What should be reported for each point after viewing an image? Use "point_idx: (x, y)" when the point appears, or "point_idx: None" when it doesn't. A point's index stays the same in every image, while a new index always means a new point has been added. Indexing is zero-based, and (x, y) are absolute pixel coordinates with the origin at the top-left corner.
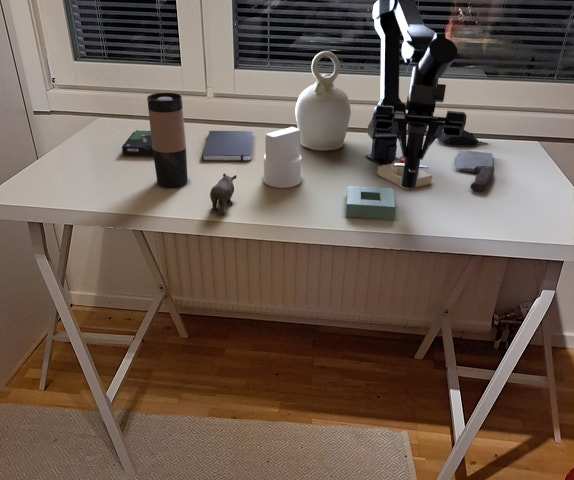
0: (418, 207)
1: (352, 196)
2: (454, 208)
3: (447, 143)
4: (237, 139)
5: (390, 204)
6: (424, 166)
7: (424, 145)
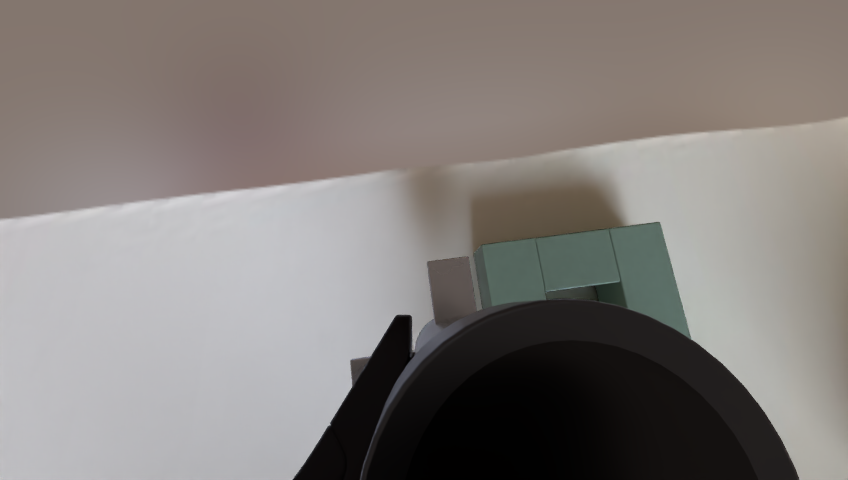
0: None
1: (660, 297)
2: (257, 422)
3: None
4: None
5: (502, 261)
6: None
7: (387, 388)
